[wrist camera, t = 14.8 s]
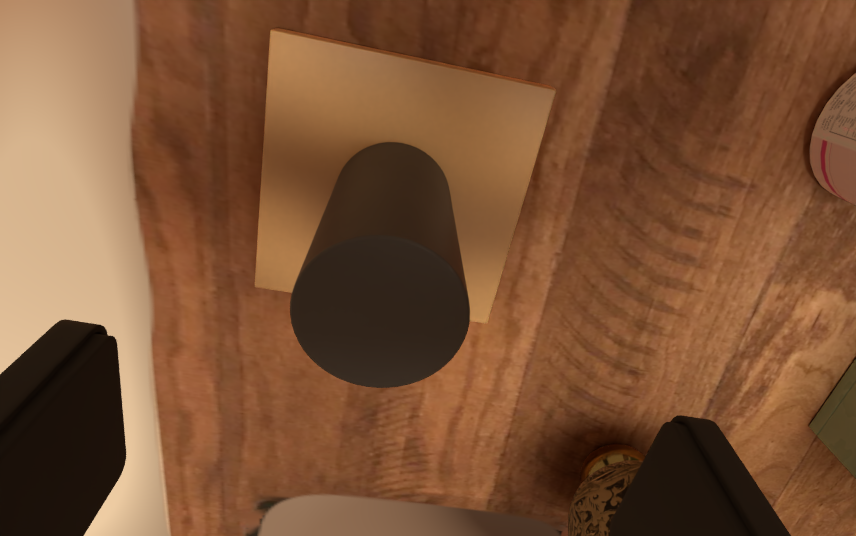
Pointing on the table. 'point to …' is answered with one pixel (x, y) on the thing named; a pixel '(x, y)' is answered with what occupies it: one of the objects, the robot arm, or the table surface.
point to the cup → (602, 488)
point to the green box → (840, 421)
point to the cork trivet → (393, 122)
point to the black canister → (384, 273)
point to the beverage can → (837, 143)
